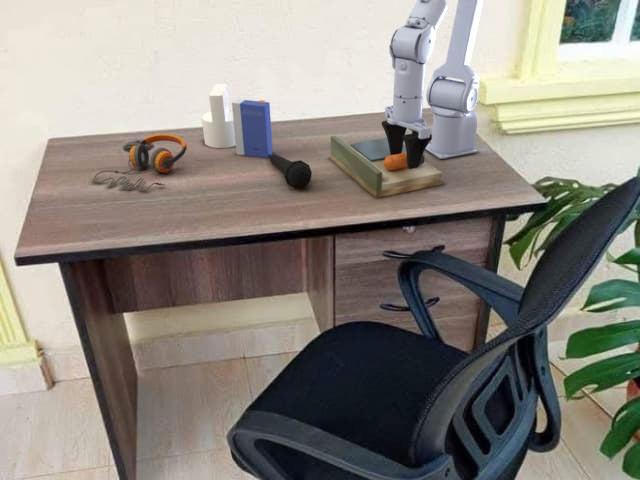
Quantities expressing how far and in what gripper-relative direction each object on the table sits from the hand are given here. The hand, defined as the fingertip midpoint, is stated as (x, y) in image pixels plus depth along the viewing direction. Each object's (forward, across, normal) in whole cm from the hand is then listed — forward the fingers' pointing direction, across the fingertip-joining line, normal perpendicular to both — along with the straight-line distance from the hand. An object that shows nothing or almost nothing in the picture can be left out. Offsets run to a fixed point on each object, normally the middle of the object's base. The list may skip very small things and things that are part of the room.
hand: (404, 161), depth 135 cm
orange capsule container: (+1, 0, 0) cm, 1 cm away
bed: (+4, -5, -2) cm, 7 cm away
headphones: (+4, -26, -48) cm, 55 cm away
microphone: (+4, -12, -21) cm, 24 cm away
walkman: (+4, -26, -24) cm, 36 cm away
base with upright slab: (+4, -37, -28) cm, 47 cm away
